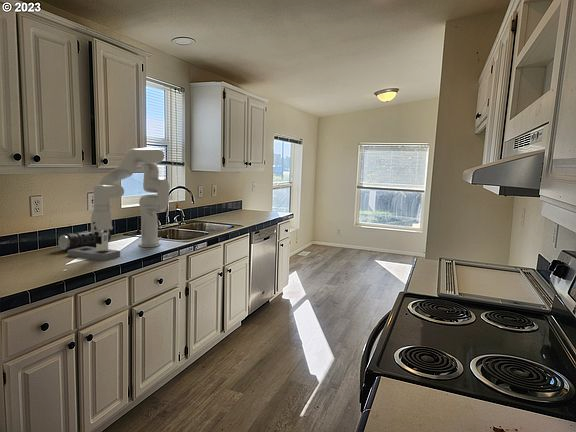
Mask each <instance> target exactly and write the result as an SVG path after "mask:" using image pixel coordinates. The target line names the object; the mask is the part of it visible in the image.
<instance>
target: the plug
mask: <svg viewBox="0 0 576 432" xmlns="http://www.w3.org/2000/svg"><path fill="white" fill-rule="evenodd" d="M100 236H101V244H96V250H101V251H103V250H108V249H109V242H108V233H106V232H101V235H100Z"/></svg>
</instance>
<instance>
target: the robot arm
mask: <svg viewBox="0 0 576 432" xmlns="http://www.w3.org/2000/svg"><path fill="white" fill-rule="evenodd" d="M164 159H165V152H164V151H163V149H161V148H156V147H154V148H153V147H141V148H131V149H129V150H127V151H126V153H125V155H124V156H123V158H122V160H121V161H120V163H119V164H118V165H117V167H116V168H113V169H112V170H110V171H109V172H108V173H106V174H105V175H103V177H102V179H101V180H100V181H99V183H98V184H95V185H94V186H93V191H92V193H93V194H92V195H93V210H92V212H91V217H90V231H91V232H92V233H93V234H94V235H95V236H96V244H101V236H100V235H101V230H103V232H106V233H108V235H109V233H110V234H111V231H112V230H113V229H114V226H113V225H112V224H113V223H112V222H113V220H112V213H111V210H110V208H111V205H110V202H111V201H110V199H120V198H122V197H123V196H124V195H125V189H124V187H123V186H122V185H120V184H115V183H117V182H119V181H121V180H125V179H128V178H130V177H132V175H133V174H134V173H135V171H136V169H137V167H138V165H141V164H142V166H143V180H142V181H143V182H142V188H143V190H144V192H145V193H150V194H145V195H141V197H140V198H139V201H138V203H139V204H138V205H139V209H140V221H141V222H140V229H141V230H140V231H141V232H140V233H141V239H140V241H141V242H139V243H138V247H141V248H155V247H160V246H161V243H160V241H162V240H163V239H162V237H161V236H160V237H158V215H157V212H165V211H166V210H167V209H168V205H169V199H170V183H169V180H167V179H166V178H164V177H159V175H160V174H159V173H160V172H159V171H160V170H159V167H158V164H159V163H161V162H163V161H164ZM151 193H152V194H151Z"/></svg>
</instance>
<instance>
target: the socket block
mask: <svg viewBox="0 0 576 432" xmlns="http://www.w3.org/2000/svg"><path fill="white" fill-rule="evenodd" d="M66 251H67V256H68V257H74V258H81V259H86V260H93V261H99V262H105V261H108V260H112V259H116V258H119V257H121V251H120V250H116V249H109V248H108V250H103V251H101V250H96V247H95V246H91V247H88V246H85V247H80V248H75V249H71V250H66Z"/></svg>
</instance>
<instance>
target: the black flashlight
mask: <svg viewBox="0 0 576 432" xmlns="http://www.w3.org/2000/svg"><path fill="white" fill-rule="evenodd" d="M101 232H103V230H101ZM111 235H112V234H111V232H110V233H109V235H108V243H109V242H110V241H111V238H112V236H111ZM57 243H58V247H59V248H60V250H63V251H67V250H71V249H75V248H80V247H85V246H88V247H95V246H96V236H95V235H94V234H93V233H92V232H91V230H86V231H80V232H79V231H78V232H68V233H64V234H62V235H60V236H59V237H58V240H57Z"/></svg>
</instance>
